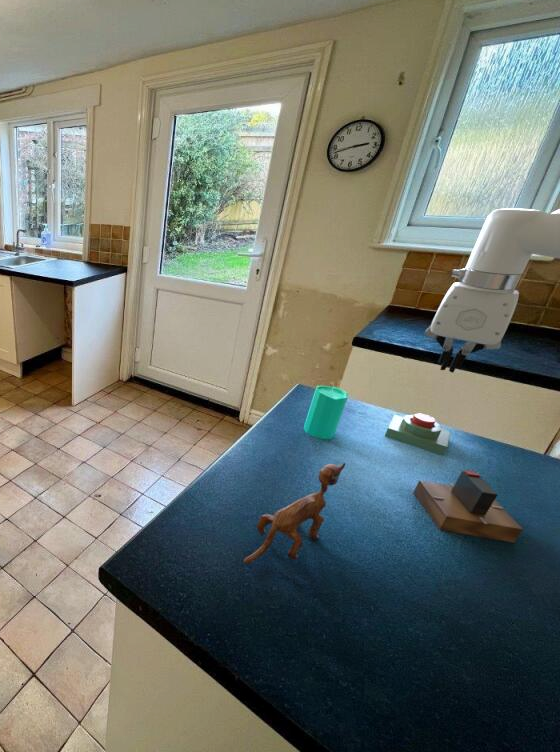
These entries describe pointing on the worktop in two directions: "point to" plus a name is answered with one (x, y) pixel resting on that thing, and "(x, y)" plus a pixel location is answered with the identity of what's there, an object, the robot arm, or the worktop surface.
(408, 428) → the button box
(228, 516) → the worktop surface
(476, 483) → the dark grey block
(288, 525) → the cat figurine
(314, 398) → the candle
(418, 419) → the button
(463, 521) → the panel
